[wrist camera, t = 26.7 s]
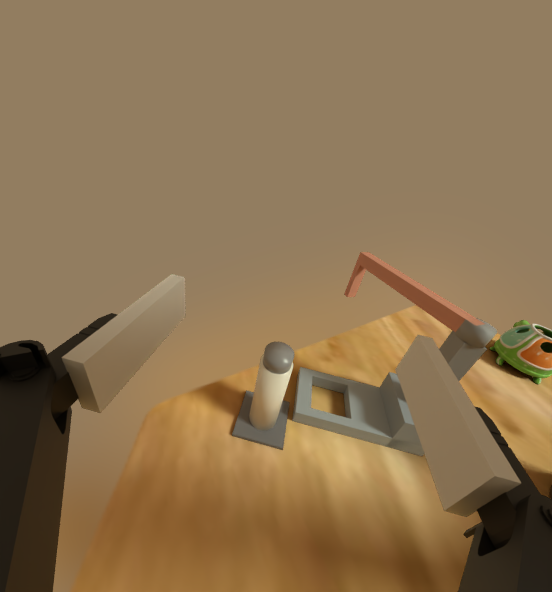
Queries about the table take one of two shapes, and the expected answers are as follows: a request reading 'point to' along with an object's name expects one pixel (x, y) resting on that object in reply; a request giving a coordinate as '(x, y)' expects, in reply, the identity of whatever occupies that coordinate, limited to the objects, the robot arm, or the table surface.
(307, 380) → the dock
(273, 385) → the bottle
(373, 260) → the pink bent bar
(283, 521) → the table surface
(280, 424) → the mat
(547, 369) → the turtle holder
